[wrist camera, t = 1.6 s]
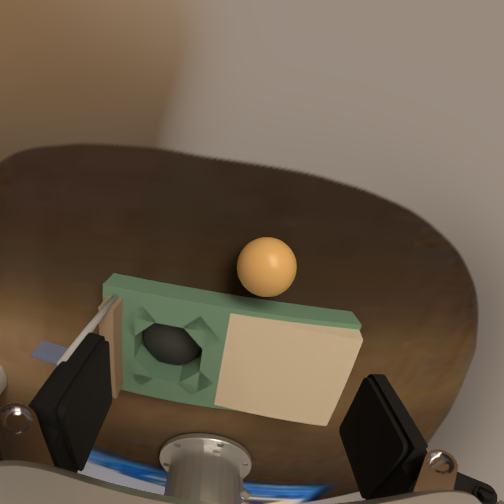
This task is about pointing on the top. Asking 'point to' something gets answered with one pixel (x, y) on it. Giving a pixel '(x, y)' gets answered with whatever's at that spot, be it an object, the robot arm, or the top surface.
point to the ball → (266, 267)
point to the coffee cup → (2, 380)
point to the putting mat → (222, 349)
